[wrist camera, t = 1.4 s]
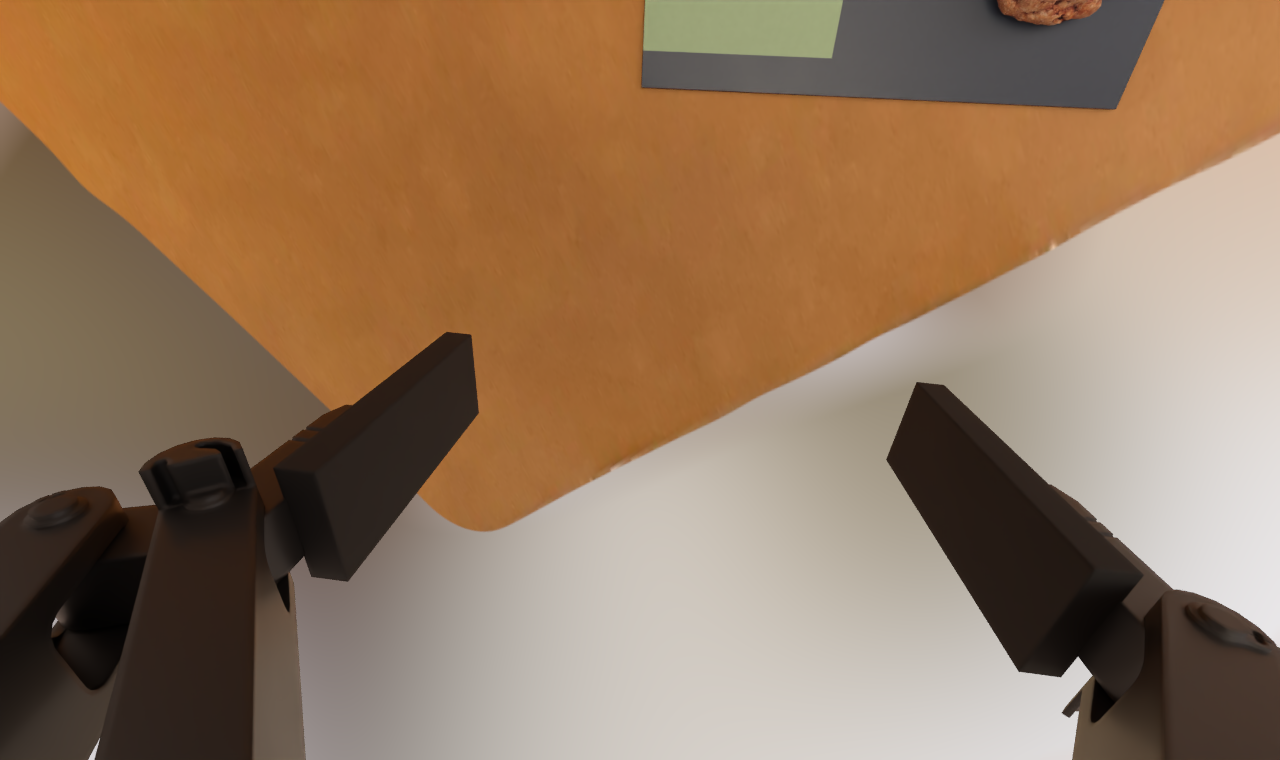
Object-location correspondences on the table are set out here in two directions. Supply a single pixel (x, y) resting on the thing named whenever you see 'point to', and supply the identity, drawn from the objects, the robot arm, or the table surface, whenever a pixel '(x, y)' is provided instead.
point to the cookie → (1048, 10)
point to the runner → (895, 50)
